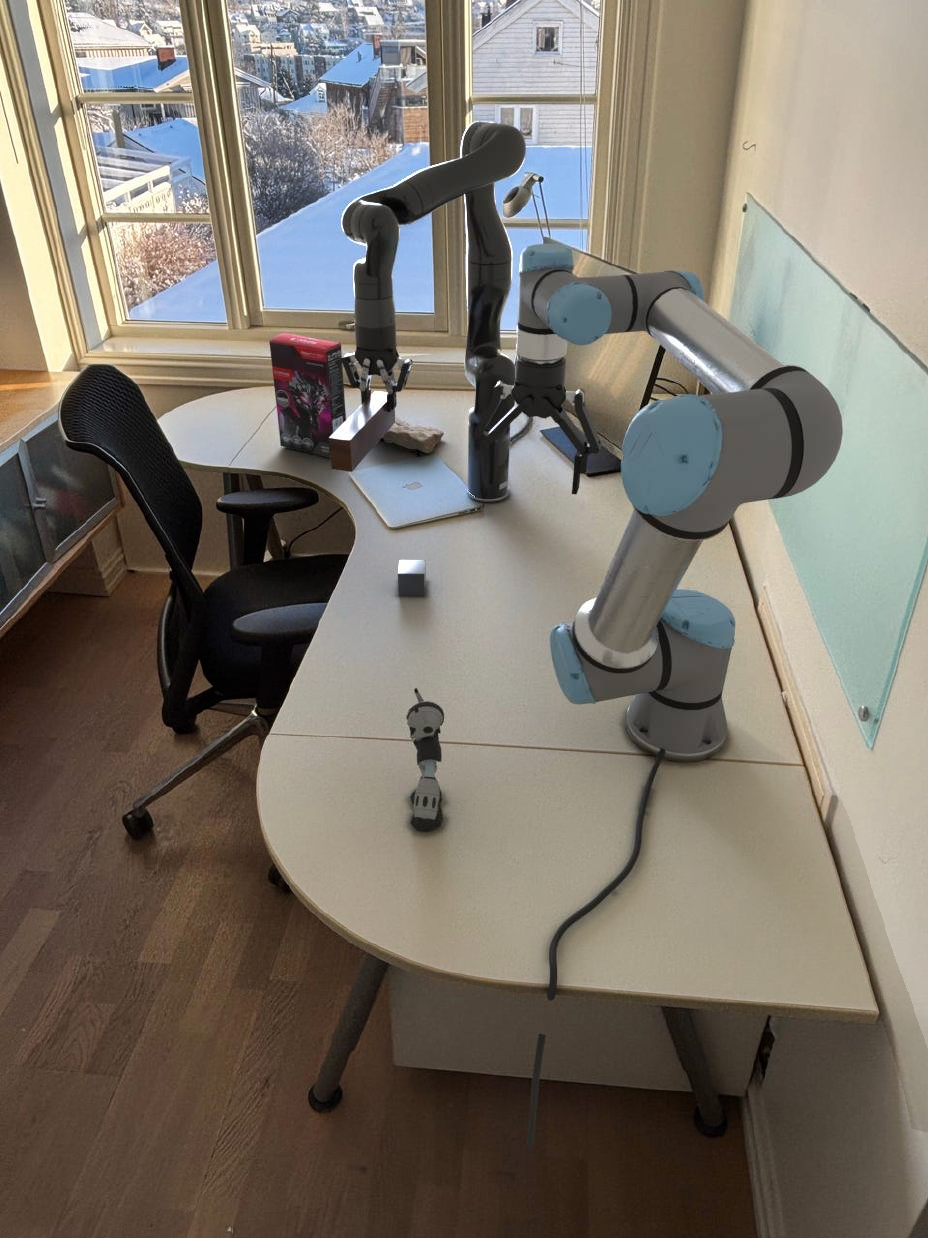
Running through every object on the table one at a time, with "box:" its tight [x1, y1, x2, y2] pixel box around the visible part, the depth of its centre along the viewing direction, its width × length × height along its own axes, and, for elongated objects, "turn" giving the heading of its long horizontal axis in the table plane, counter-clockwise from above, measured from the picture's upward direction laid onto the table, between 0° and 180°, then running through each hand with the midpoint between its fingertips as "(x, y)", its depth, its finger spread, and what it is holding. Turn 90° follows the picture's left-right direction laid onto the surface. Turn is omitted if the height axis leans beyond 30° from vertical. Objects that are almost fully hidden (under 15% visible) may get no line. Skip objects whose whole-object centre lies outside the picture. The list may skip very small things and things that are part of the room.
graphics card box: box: [268, 332, 347, 458], centre depth 224 cm, size 17×7×27 cm, turn 62°
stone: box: [381, 416, 444, 454], centre depth 233 cm, size 21×15×6 cm
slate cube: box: [397, 559, 427, 597], centre depth 176 cm, size 5×5×5 cm
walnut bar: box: [329, 390, 396, 473], centre depth 172 cm, size 24×4×6 cm, turn 165°
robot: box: [405, 687, 445, 833], centre depth 123 cm, size 20×5×20 cm, turn 3°
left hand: (379, 409), depth 178 cm, fingers closed on walnut bar, 4 cm apart
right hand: (533, 485), depth 149 cm, fingers open, 13 cm apart
